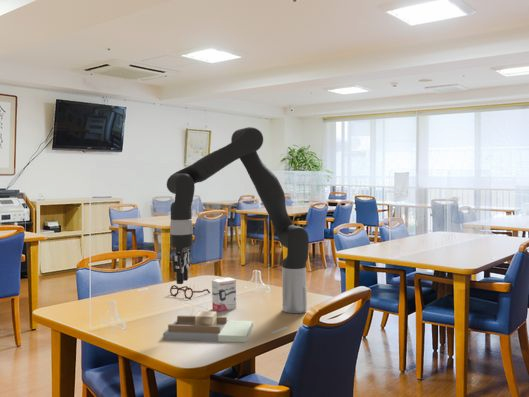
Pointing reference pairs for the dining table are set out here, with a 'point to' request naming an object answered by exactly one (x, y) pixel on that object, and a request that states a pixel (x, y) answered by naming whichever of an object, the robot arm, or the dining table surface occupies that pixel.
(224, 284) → the ink box
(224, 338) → the channel deck
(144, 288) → the dining table surface
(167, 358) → the dining table surface
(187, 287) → the glasses
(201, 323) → the beech block
